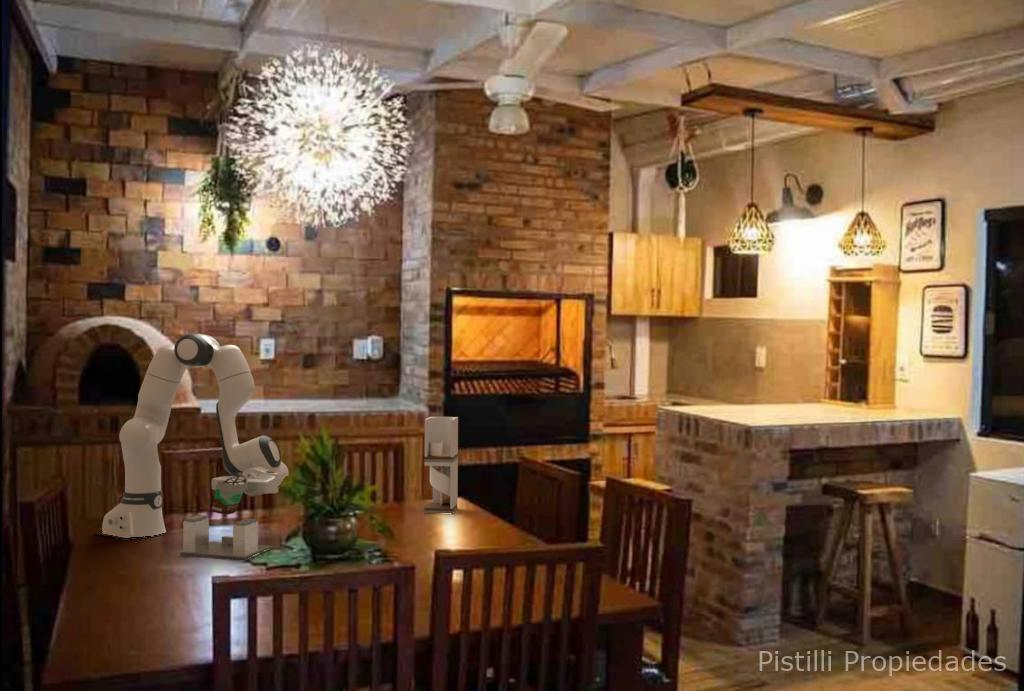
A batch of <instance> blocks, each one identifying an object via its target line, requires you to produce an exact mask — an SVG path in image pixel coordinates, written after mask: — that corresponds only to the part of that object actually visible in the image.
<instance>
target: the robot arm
mask: <svg viewBox="0 0 1024 691" xmlns="http://www.w3.org/2000/svg"><path fill="white" fill-rule="evenodd" d="M189 367H194V368H203V367H204V368H208V367H209V368H210V369H211V370H212V371H213V373H214V375H215V378H216V381H217V385H218V389H219V390H218V391H219V394H218V396H219V397H218V401H217V402H216V405H215V414H216V418H217V426H218V432H219V438H220V443H221V449H222V450H221V451H222V452H221V453H222V457H221V458H222V465H223V469H224V470H225V471H226V472H227V473H228V474H230V475H222V476H219V477H218V476H217V477H214V478H213V477H212V479H211V489H212V491H216V488H215V487H216V485H217V483H218V481H219V482H221V483H222V482H224V481H225V480H227V479H229V478H233V477H235V476H237V475H238V473H241V474H243V475H244V476H245V477H246V478H247V481H248V485H247V489H246V490H245V491H244V492H243V494H245V495H247V496H249V497H256V496H258V495H259V496H261V495H265V494H266V495H268V494H277V493H279V488H278V486H279V485H280V484H281V482H282V481H283V479H284V478H285V477H286V476H288V477H289V475H290V474H289V468H288V467H287V465H286V464H285V463H284V462H283V461H282V456H281V451H280V448H279V445H278V444H277V442H276V441H275V440H273V438H271V437H269V436H267V435H261V436H258V437H255V438H252V439H250V440H248V441H245V442H243V443H239V440H238V432H237V427H236V417H237V415H238V412H239V411H240V410H241V409H242V408H243V407H244V406H245V405H246V404H247V403H248V402H249V401H250V399H251V398H252V397H253V394H254V392H255V380H254V377H253V374H252V371H251V369H250V366H249V363H248V361H247V359H246V357H245V356H244V353H243V352H242V350H241V349H240V347H238V346H237V345H233V344H226V345H222V343H221V341H220V340H219V339H218V338H217V337H215V336H213V335H209V334H206V333H187V334H184V335H182V336H180V337H179V338H178V339H177V340H176V342H175V344H163V345H160V346H159V347H158V348H157V350H156V351H155V353H154V356H153V357H152V359H151V361H150V363H149V366H148V368H147V369H146V372H145V375H144V379H143V381H142V384H141V386H140V389H139V392H138V395H137V396H138V397H137V398H138V399H137V403H136V404H137V405H136V409H135V413H134V416H133V418H131V419H128V420H127V421H126V422H124V424H123V426H122V427H121V429H120V430H119V435H118V437H119V442H120V444H121V451H122V452H121V454H122V458H123V464H124V491H123V492H122V493H119V494H118V493H117V496H118V497H117V499H120V498H121V499H120V503H118V504H117V505H116V506H115V507H113V508H112V509H110V511H108V512H107V513H106V514H105V515H104V517H103V520H102V525H101V526H102V527H101V528H102V531H103V532H102V533H103V534H108V535H113V536H118V537H123V538H130V537H143V536H144V537H143V538H146V537H145V536H151V537H155V536H154V535H157V536H160V535H159V534H161V535H163V534H162V533H164V534H165V533H167V530H166V527H165V526H166V525H165V522H164V517H163V510H162V505H163V490H162V466H161V463H160V458H159V452H158V445H159V444H160V443H161V442H162V440H163V439H164V437H165V435H166V430H167V427H168V424H169V418H170V415H171V412H172V406H173V403H174V401H175V397H176V395H177V392H178V390H179V387H180V384H181V381H182V379H183V376H184V374H185V371H186V370H187V369H188V368H189Z"/></svg>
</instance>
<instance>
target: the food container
mask: <svg viewBox="0 0 1024 691" xmlns="http://www.w3.org/2000/svg"><path fill="white" fill-rule="evenodd" d="M247 485H248V481H247V478H246V477H245V476H244V475H243V474H241V473H238V475H237V476H235V477H233V478H229V479H227V480H225V481H224V482H222V483H221V482H219V481H218V483H217V485H216V487H215V488H216V490H215V493H214V498H213V502H212V505H211V512H214V513H216V514H221V515H233V514H234V513H236V512H237V511H238V507H239V505H240V502H241V499H242V497H243V495H244V491H245V490H246V489H247Z"/></svg>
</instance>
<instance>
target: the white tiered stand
mask: <svg viewBox="0 0 1024 691" xmlns="http://www.w3.org/2000/svg"><path fill="white" fill-rule="evenodd" d="M458 448H459V416H455V417H454V416H429V417H427V418H425V419H424V467H429V483H430V485H431V487H432V501H431V502H429V503H428V504H427V505H426V506H424V508H423V509H424V510H423V511H424V512H423V513H424V514H425V513H451V514H450V515H453V514H454V513H455V512H456V511H457V510H456V509H458V503H459V502H458V501H459V500H458V497H459V496H458V493H459V492H458V489H459V487H458V486H459V485H458V484H459V483H458V480H459V479H458V478H459V476H458V475H459V473H458V472H459V470H458V469H459V464H458V463H459V462H458V461H459V460H458V459H459V449H458ZM455 510H456V511H455ZM454 511H455V512H454ZM453 512H454V513H453Z"/></svg>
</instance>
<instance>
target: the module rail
mask: <svg viewBox="0 0 1024 691" xmlns="http://www.w3.org/2000/svg"><path fill="white" fill-rule="evenodd" d="M182 523H183V524H182V531H183V533H182V534H183V535H182V537H183V538H182V539H183V540H182V544H183V545H182V548H183V549H182V551H180V552H179V556H182V557H193V558H203V557H204V558H206V559H219V560H228V559H229V560H230V561H239V560H246V559H248V558H250V557H252V556H253V555H255V554H257V553H259V552H261V551H264V550H267V549H271V548H272V549H273V546H271V545H260V544H259V521H257V518H243V519H241V520H238V521H236V522H235V523H234V524H233V525H232V536H227V535H223V536H221V541H220V542H219V541H210V538H209V537H210V535H209V534H210V531H209V530H210V518H209V517H208V516H207V515H200V514H198V515H193V516H191V517H190V516H189V517H187V518H185V520H184V521H183V522H182ZM229 560H228V561H229ZM246 561H247V560H246Z"/></svg>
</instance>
